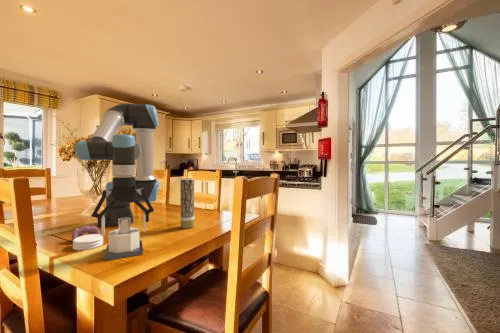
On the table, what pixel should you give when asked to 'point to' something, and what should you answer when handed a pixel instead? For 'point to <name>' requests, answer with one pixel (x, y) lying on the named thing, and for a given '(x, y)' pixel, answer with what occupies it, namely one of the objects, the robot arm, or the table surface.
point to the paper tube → (187, 203)
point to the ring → (123, 241)
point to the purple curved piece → (85, 231)
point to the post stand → (123, 229)
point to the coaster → (87, 242)
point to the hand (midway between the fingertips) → (124, 233)
